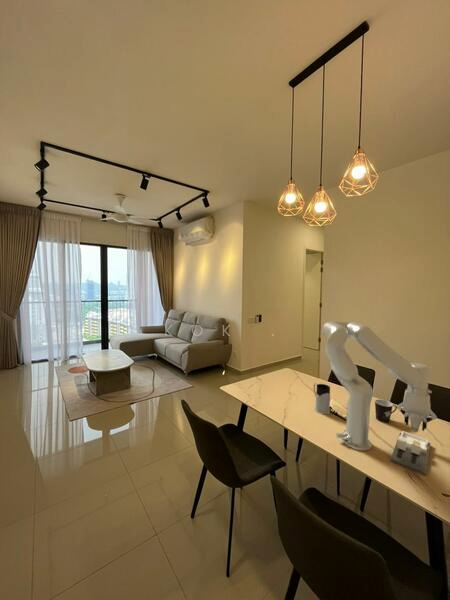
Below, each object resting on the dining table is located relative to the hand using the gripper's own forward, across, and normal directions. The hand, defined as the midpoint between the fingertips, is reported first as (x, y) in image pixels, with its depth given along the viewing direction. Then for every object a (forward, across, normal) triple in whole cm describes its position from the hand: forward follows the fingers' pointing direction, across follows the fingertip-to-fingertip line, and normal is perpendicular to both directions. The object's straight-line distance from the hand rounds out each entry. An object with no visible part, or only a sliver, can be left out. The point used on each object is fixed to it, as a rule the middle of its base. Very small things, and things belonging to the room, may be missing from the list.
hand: (415, 426), depth 119 cm
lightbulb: (+3, 0, 0) cm, 3 cm away
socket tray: (+8, 0, 0) cm, 8 cm away
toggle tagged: (+8, -1, +8) cm, 11 cm away
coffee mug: (+10, +14, -16) cm, 24 cm away
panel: (+9, 0, +8) cm, 12 cm away
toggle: (+8, +4, +9) cm, 12 cm away
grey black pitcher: (+9, +47, -4) cm, 48 cm away
